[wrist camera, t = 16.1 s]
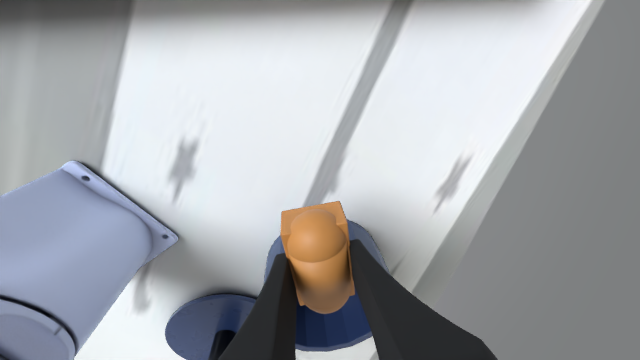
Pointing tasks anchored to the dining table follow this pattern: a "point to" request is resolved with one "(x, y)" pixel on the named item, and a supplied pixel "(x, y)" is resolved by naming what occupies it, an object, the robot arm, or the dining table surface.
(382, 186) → the dining table surface
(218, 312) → the lid
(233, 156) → the dining table surface
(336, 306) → the bread roll
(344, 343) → the pot
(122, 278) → the robot arm
